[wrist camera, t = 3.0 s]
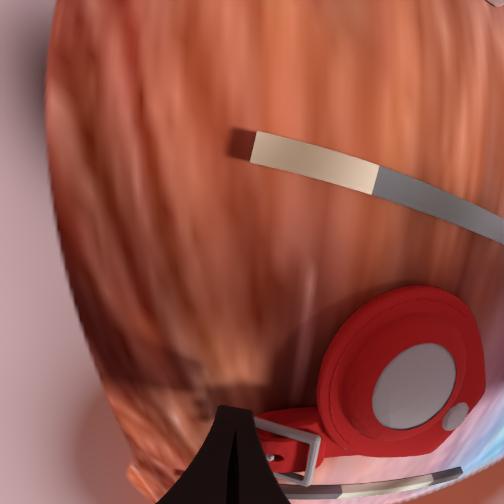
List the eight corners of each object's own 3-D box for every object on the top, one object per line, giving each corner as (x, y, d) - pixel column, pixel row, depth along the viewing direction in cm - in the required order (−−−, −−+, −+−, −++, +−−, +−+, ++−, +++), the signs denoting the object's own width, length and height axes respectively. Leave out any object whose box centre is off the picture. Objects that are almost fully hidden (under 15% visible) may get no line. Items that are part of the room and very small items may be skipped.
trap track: (586, 270, 11) (592, 275, 10) (454, 472, 17) (456, 478, 17) (257, 132, 9) (257, 131, 9) (186, 477, 16) (184, 486, 15)
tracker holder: (415, 234, 9) (529, 369, 9) (375, 239, 14) (483, 348, 13) (202, 469, 10) (361, 540, 9) (219, 419, 14) (348, 493, 14)
